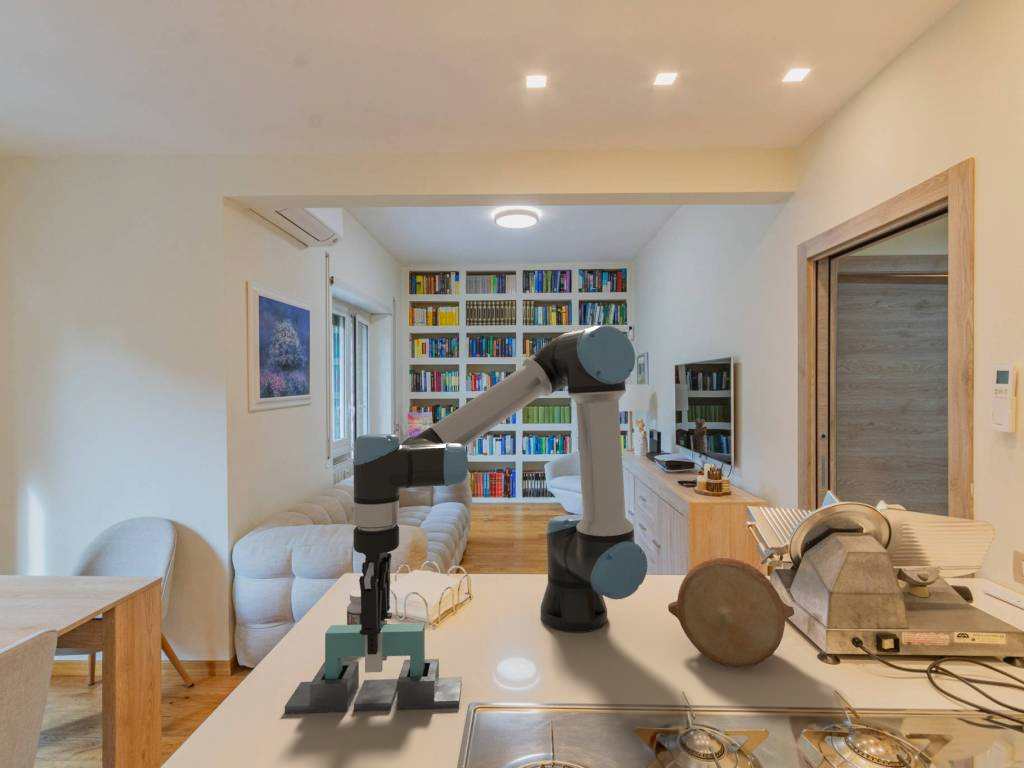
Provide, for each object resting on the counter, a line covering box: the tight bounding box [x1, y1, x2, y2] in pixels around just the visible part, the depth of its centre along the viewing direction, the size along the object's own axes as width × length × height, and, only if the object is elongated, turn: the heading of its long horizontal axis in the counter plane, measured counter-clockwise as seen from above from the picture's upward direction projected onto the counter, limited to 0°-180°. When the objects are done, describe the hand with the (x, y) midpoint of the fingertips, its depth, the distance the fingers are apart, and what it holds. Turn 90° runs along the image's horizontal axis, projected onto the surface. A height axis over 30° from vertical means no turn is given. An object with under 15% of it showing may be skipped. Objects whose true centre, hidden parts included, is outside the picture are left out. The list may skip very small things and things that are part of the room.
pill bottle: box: [346, 588, 361, 625], centre depth 107 cm, size 6×6×10 cm
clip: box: [324, 622, 426, 679], centre depth 87 cm, size 16×3×8 cm, turn 92°
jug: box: [667, 557, 795, 668], centre depth 105 cm, size 20×19×30 cm
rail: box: [284, 658, 463, 715], centre depth 87 cm, size 28×7×4 cm, turn 92°
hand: (376, 664), depth 87 cm, fingers closed on clip, 3 cm apart
